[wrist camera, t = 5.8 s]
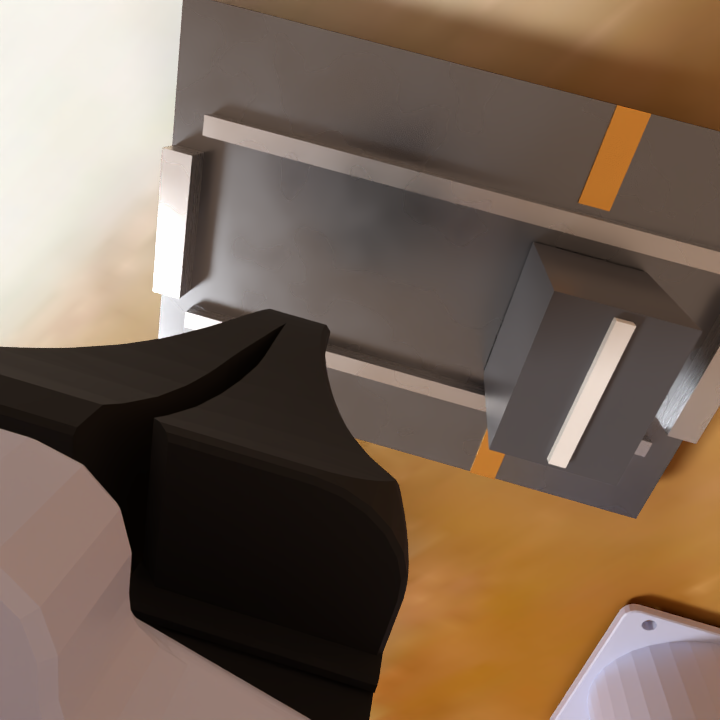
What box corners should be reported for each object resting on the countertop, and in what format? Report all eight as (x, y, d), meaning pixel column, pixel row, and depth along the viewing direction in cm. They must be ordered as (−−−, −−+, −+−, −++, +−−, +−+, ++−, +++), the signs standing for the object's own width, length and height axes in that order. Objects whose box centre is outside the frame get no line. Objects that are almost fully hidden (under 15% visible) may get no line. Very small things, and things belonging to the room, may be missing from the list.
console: (812, 156, 15) (870, 169, 13) (624, 488, 20) (642, 536, 18) (208, 0, 15) (168, -12, 13) (175, 360, 20) (143, 392, 18)
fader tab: (646, 272, 15) (706, 335, 11) (584, 401, 17) (618, 491, 13) (533, 241, 15) (556, 294, 11) (483, 373, 17) (489, 454, 13)
